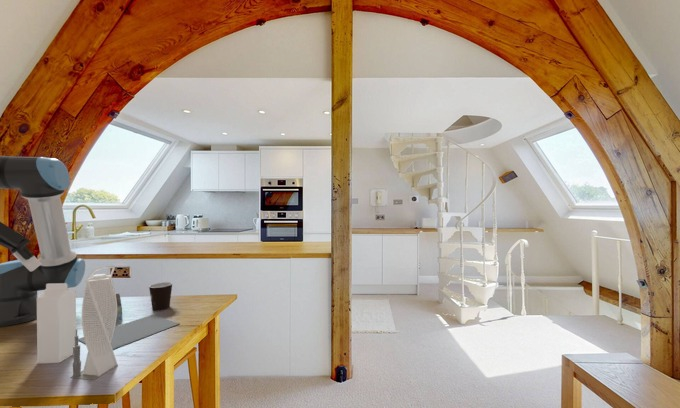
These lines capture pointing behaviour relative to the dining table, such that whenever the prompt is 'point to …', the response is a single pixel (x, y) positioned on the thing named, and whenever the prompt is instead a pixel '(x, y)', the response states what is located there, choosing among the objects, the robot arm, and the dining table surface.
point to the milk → (56, 323)
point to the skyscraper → (97, 327)
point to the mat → (138, 330)
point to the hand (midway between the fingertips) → (14, 270)
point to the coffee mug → (160, 295)
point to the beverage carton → (119, 308)
